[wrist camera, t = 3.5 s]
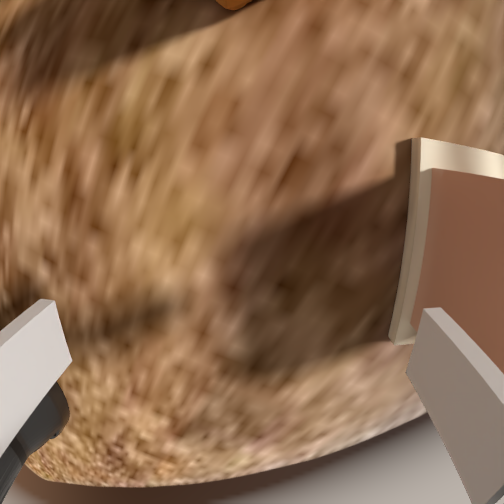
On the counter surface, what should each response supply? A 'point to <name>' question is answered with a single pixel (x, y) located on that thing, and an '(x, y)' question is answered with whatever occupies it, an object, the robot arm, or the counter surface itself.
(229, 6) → the coffee package
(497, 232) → the salmon pink block
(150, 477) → the counter surface
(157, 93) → the counter surface
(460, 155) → the birch board
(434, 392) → the robot arm
